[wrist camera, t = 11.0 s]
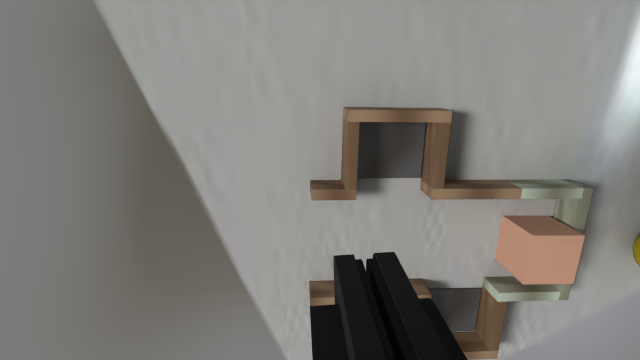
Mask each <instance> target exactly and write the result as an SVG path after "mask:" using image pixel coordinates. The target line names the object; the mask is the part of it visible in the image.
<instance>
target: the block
mask: <svg viewBox="0 0 640 360" xmlns="http://www.w3.org/2000/svg"><path fill="white" fill-rule="evenodd" d="M584 238H585V235H583V234H582V233H580V232H578V231H576V230H574V229H572V228H570V227H569V226H567V225H565V224H563V223H561V222H559V221H557V220H556V219H554V218H552V217H550V216H502V222H501V228H500V234H499V239H498V245H497V251H496V257H495V260H496V261H498V262H499V263H500V264H501V265H502V266H503V267H504V268H505V269H506V270H508V271H509V272H510V273H511V274H512V275H513V276H514V277H515V278H516V279H518V280H519V281H520V282H521V283H522V284H523V285H524V284H573V283H574V279H575V275H576V271H577V267H578V263H579V259H580V255H581V251H582V247H583V242H584Z"/></svg>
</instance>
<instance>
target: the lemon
mask: <svg viewBox="0 0 640 360" xmlns="http://www.w3.org/2000/svg"><path fill="white" fill-rule="evenodd" d="M633 256H634V258H635V261H636V262H637V264H638V265H639V266H640V236H639V237H638V238H637V239H636V240H635V243H634V245H633Z"/></svg>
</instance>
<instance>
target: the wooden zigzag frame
mask: <svg viewBox="0 0 640 360" xmlns="http://www.w3.org/2000/svg"><path fill="white" fill-rule="evenodd" d="M451 119H452V111H450V110H445V109H440V108H371V107H344V110H343V140H342V170H341V180H310V192H311V199H312V200H356V188H357V178H420V177H421V167H422V156H423V146H424V136H425V125H426V122H427V128H426V138H425V149H424V159H423V170H422V180H421V191H423V192H424V193H425V194H426V195H427V196H428V197H429V198H431V199H557V201H556V205H555V210H554V215H553V218H554V219H556V220H557V221H559V222H561V223H563V224H565V225H567V226H569V227H570V228H572V229H574V230H576V231H578V232H580V233H582V234H583V233H584V228H585V224H586V220H587V215H588V211H589V207H590V203H591V198H592V194H593V190H594V188H592V187H589V186H586V185H583V184H581V183H578V182H575V181H572V180H445V171H446V163H447V154H448V145H449V136H450V128H451ZM409 281H410V283H411V285H412V286H413V288H414V290H415V292H416V294H417V296H418V298H430V299H432V300H433V302H434V303H435V305H436V307H437V308H438V310H439V312H440V313H441V315H442V317H443V319H444V320H445V322H446V324H447V325H448V327H449V329H450V331H451V332H456V331H475V327H476V331H475V332H456V333H452V334H453V336H454V337H455V339H456V341H457V343H458V344H459V346H460V348H461V349H462V351H463V353H464V354H465V356H466V358H467V360H472V359H497V355H498V350H499V344H500V338H501V333H502V327H503V322H504V316H505V311H506V305H507V301H543V300H568V297H569V293H570V288H571V284H524V285H523V284H522V283H521V282H520V281H519V280H518V279H516V278H515V277H484V280H483V287H482V293H481V288H454V289H427V287H426V286H425V284H424V282H423V281H422V279H409ZM309 291H310V306H318V305H333V304H335V296H334V281H309ZM480 295H481V300H480ZM479 302H480V306H479ZM478 308H479V312H478ZM477 314H478V319H477ZM476 321H477V325H476Z"/></svg>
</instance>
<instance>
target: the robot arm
mask: <svg viewBox="0 0 640 360" xmlns="http://www.w3.org/2000/svg"><path fill="white" fill-rule="evenodd" d="M334 296H335V304H333V305H318V306H310V317H311V336H312V355H313V360H467V358H466V356H465V354H464V353H463V351H462V349H461V348H460V346H459V344H458V343H457V341H456V339H455V337H454V336H453V334H452V332H451V331H450V329H449V327H448V325H447V324H446V322H445V320H444V319H443V317H442V315H441V313H440V312H439V310H438V308H437V307H436V305H435V303H434V302H433V300H432V299H430V298H418V296H417V294H416V292H415V290H414V288H413V286H412V285H411V283H410V281H409V279H408V277H407V275H406V273H405V271H404V269H403V267H402V266H401V264H400V262H399V260H398V258H397V256H396V254H395V253H394V252H386V253H374V254H373V259H367V261H366V270H365V267H364V265H363V262H362V259H357V260H355V257H354V255H338V256H334Z"/></svg>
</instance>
